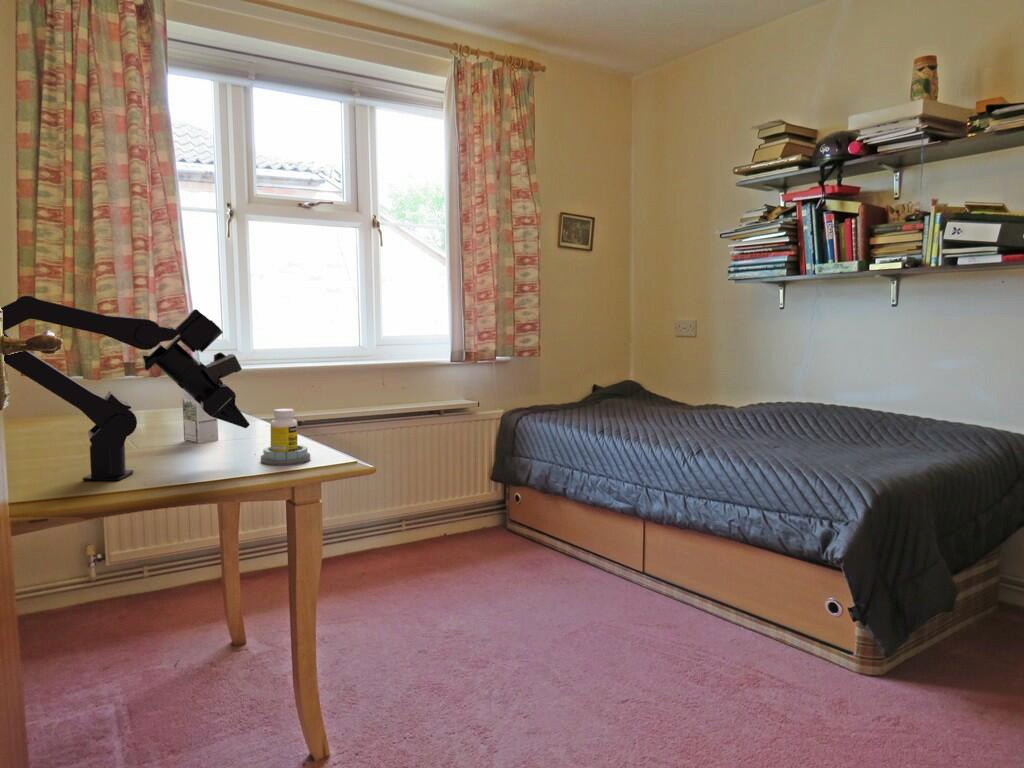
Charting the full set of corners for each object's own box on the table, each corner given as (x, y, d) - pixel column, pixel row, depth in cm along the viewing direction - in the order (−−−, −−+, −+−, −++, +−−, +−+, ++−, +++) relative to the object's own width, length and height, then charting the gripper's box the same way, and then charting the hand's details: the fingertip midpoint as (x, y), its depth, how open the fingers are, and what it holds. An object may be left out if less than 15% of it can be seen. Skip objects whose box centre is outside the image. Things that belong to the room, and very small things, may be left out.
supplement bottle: (291, 458, 148) (290, 411, 147) (266, 457, 148) (265, 411, 147) (301, 453, 153) (301, 408, 152) (277, 452, 154) (276, 407, 153)
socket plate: (304, 465, 146) (304, 453, 146) (254, 465, 146) (254, 453, 145) (314, 455, 156) (314, 444, 156) (267, 455, 156) (267, 444, 155)
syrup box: (219, 440, 172) (217, 380, 170) (197, 444, 167) (195, 382, 165) (204, 437, 175) (203, 378, 173) (182, 441, 170) (180, 380, 168)
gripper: (222, 344, 133) (282, 400, 140) (208, 337, 149) (263, 388, 156) (176, 387, 130) (240, 442, 137) (167, 375, 146) (225, 425, 153)
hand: (243, 422), depth 146 cm, fingers open, 9 cm apart
